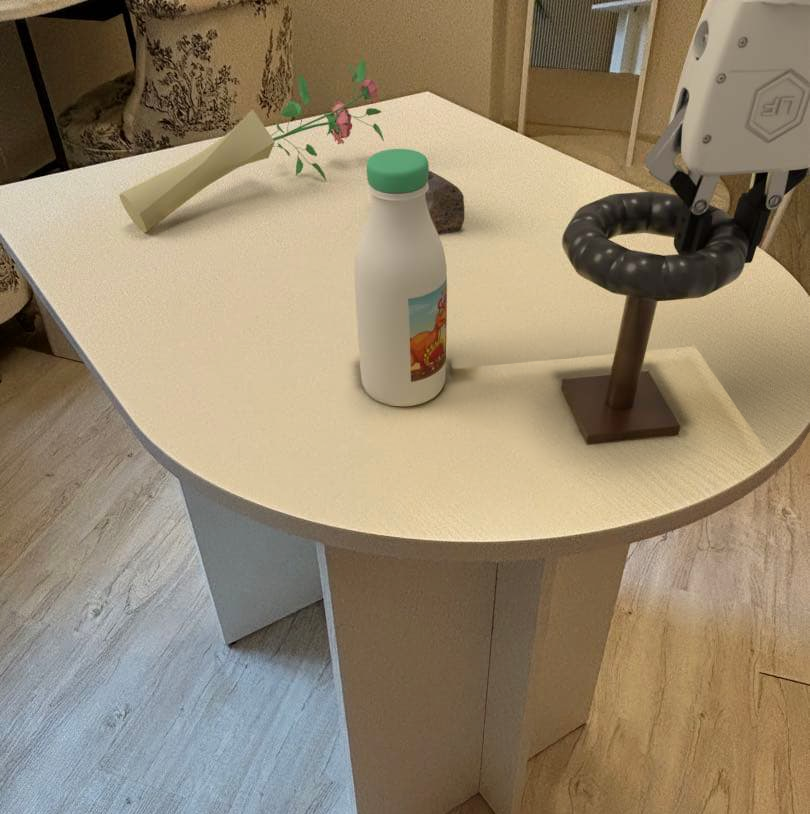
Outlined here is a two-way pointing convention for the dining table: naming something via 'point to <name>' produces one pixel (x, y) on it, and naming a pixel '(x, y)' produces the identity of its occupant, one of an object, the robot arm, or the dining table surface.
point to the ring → (647, 270)
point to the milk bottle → (400, 285)
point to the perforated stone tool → (444, 204)
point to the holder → (623, 388)
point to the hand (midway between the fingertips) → (713, 254)
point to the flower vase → (236, 156)
